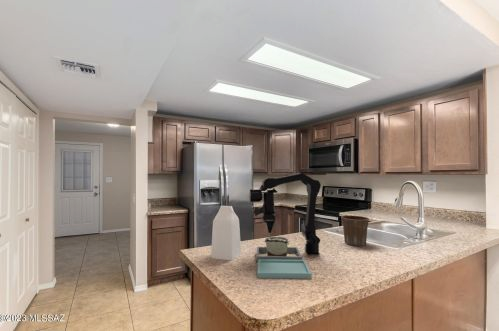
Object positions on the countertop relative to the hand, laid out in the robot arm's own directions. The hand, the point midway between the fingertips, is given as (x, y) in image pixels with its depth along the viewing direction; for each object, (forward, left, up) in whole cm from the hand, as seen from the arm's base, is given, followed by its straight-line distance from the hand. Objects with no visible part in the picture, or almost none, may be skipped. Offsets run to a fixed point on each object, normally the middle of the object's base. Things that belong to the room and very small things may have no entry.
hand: (269, 230), depth 135 cm
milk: (+23, +2, -13) cm, 26 cm away
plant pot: (-53, -24, -13) cm, 60 cm away
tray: (-5, +22, -13) cm, 26 cm away
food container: (-4, +4, -13) cm, 14 cm away
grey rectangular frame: (-4, +4, -13) cm, 14 cm away
